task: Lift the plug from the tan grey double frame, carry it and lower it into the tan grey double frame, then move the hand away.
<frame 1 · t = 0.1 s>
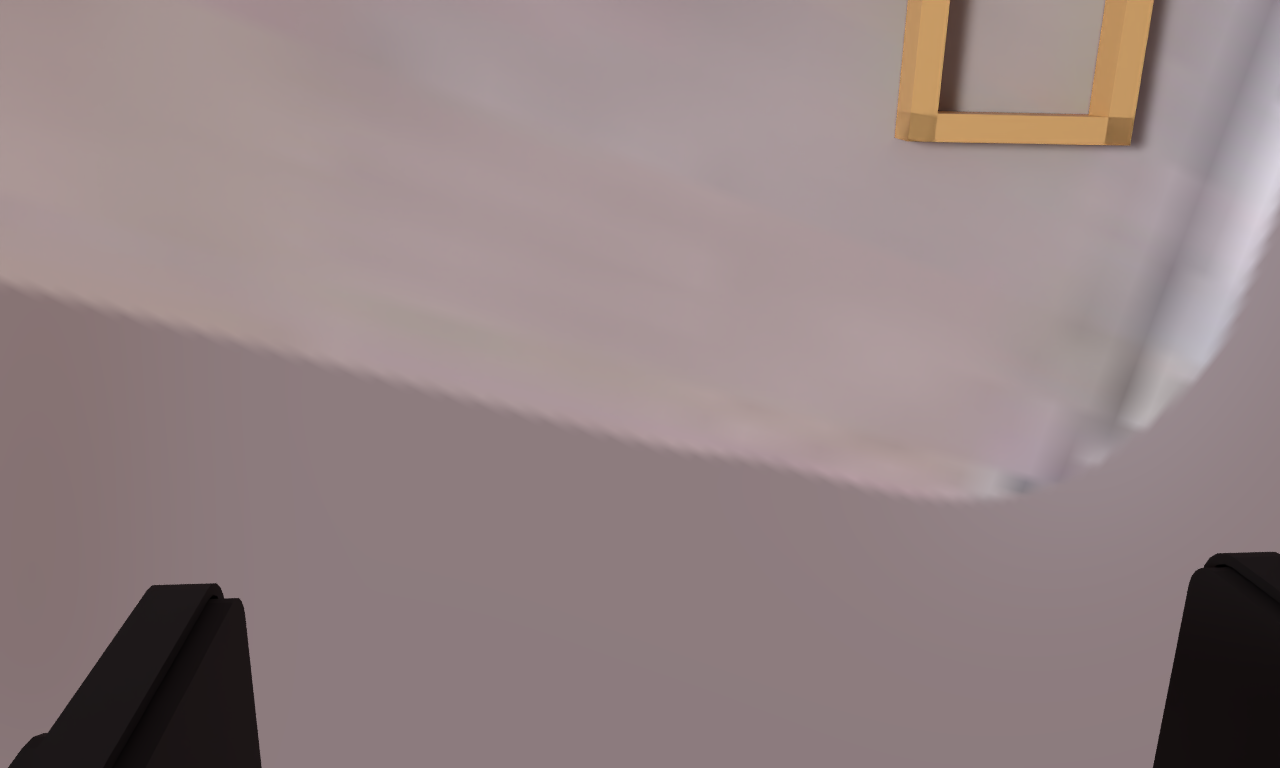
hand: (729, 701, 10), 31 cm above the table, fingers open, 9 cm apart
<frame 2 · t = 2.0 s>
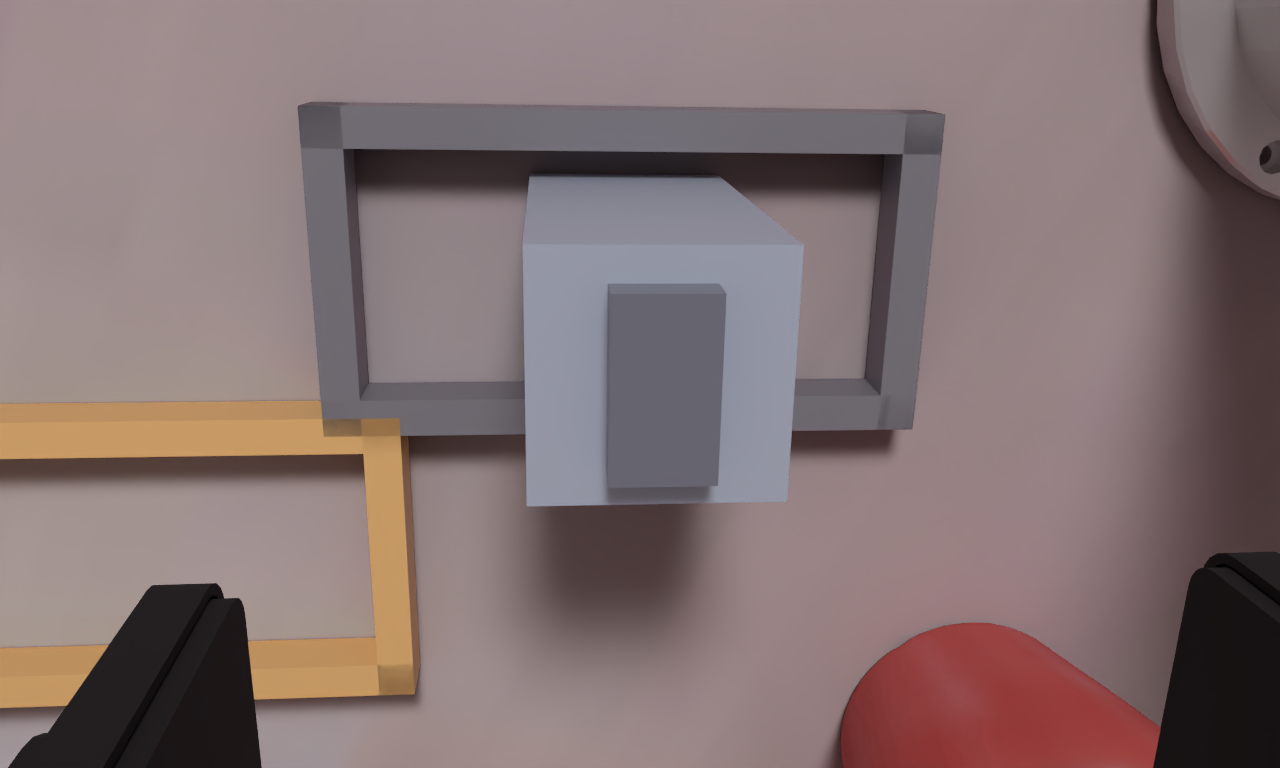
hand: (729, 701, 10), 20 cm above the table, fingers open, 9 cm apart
flower pot 2: (952, 717, 35), on the table
plug: (623, 267, 29), resting in tan grey double frame
tan grey double frame: (370, 408, 30), on the table
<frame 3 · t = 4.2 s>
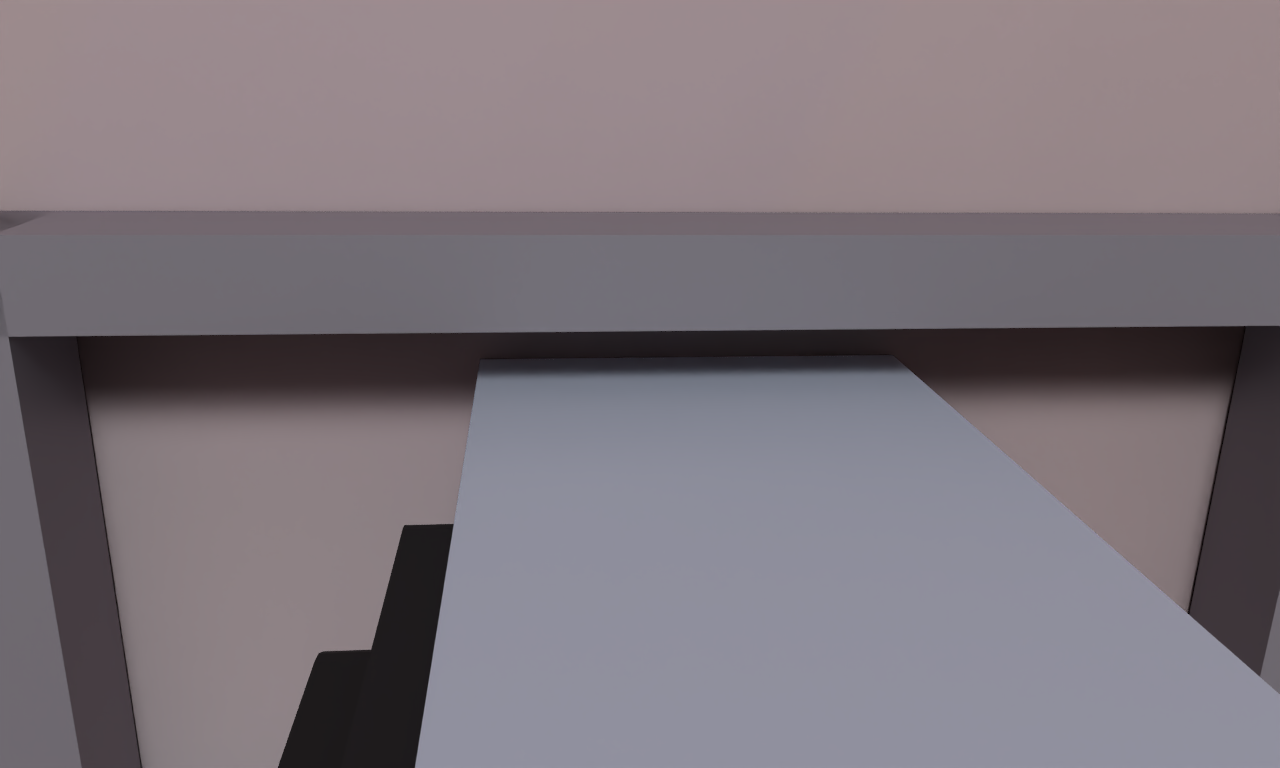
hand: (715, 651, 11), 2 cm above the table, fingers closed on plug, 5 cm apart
plug: (683, 545, 14), resting in tan grey double frame, touching gripper
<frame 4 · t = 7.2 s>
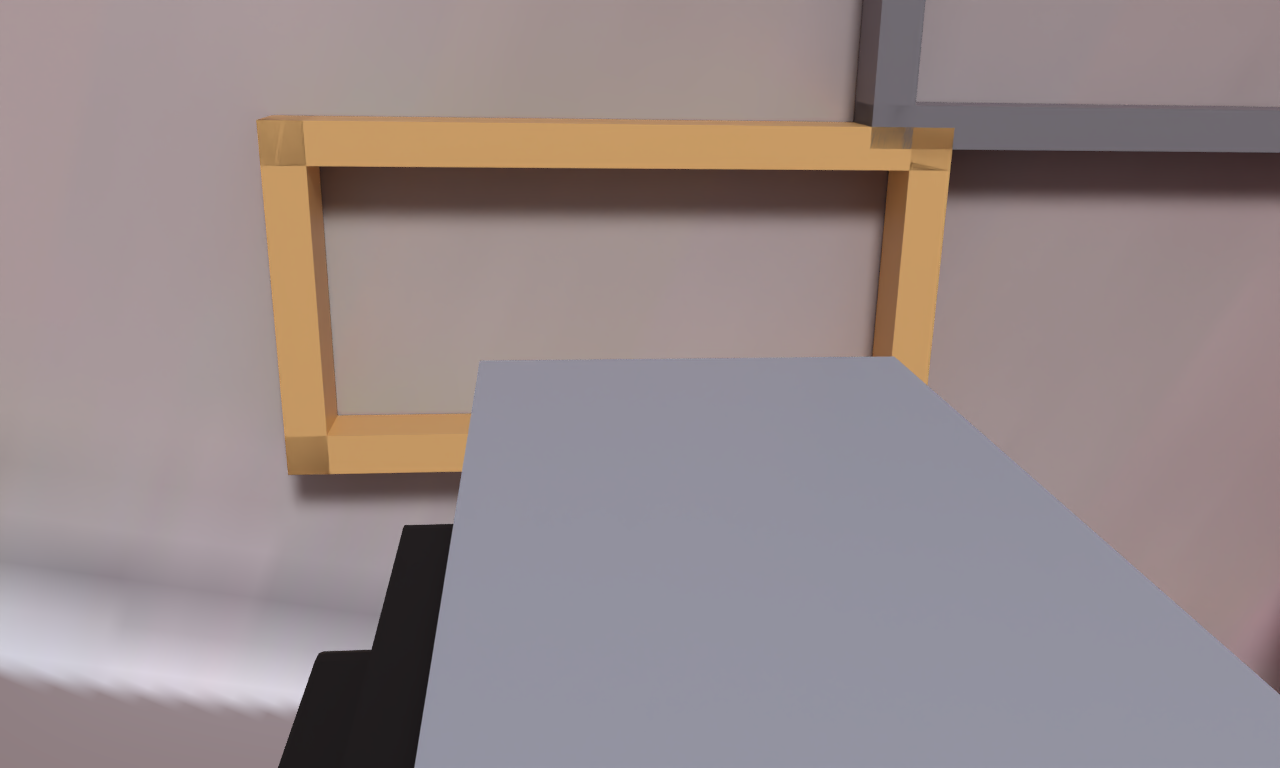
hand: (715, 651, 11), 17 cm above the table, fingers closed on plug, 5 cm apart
plug: (684, 547, 14), point 14 cm above the table, touching gripper
tan grey double frame: (892, 132, 27), on the table
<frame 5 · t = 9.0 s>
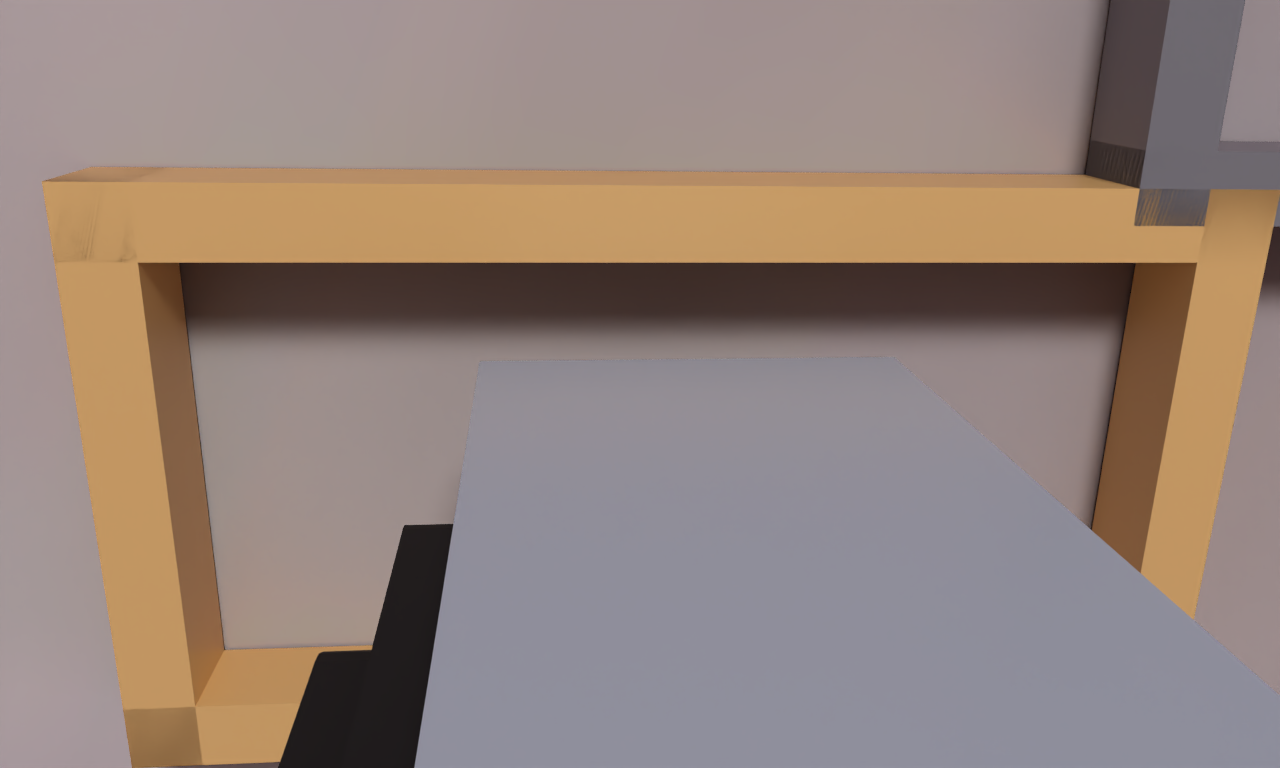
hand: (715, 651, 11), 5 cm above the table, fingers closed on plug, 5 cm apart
plug: (684, 548, 14), point 3 cm above the table, touching gripper
tan grey double frame: (1147, 192, 16), on the table
when the fingers open (3 cm above the table, at t = 10.3 s): plug stays where it is, resting in tan grey double frame.
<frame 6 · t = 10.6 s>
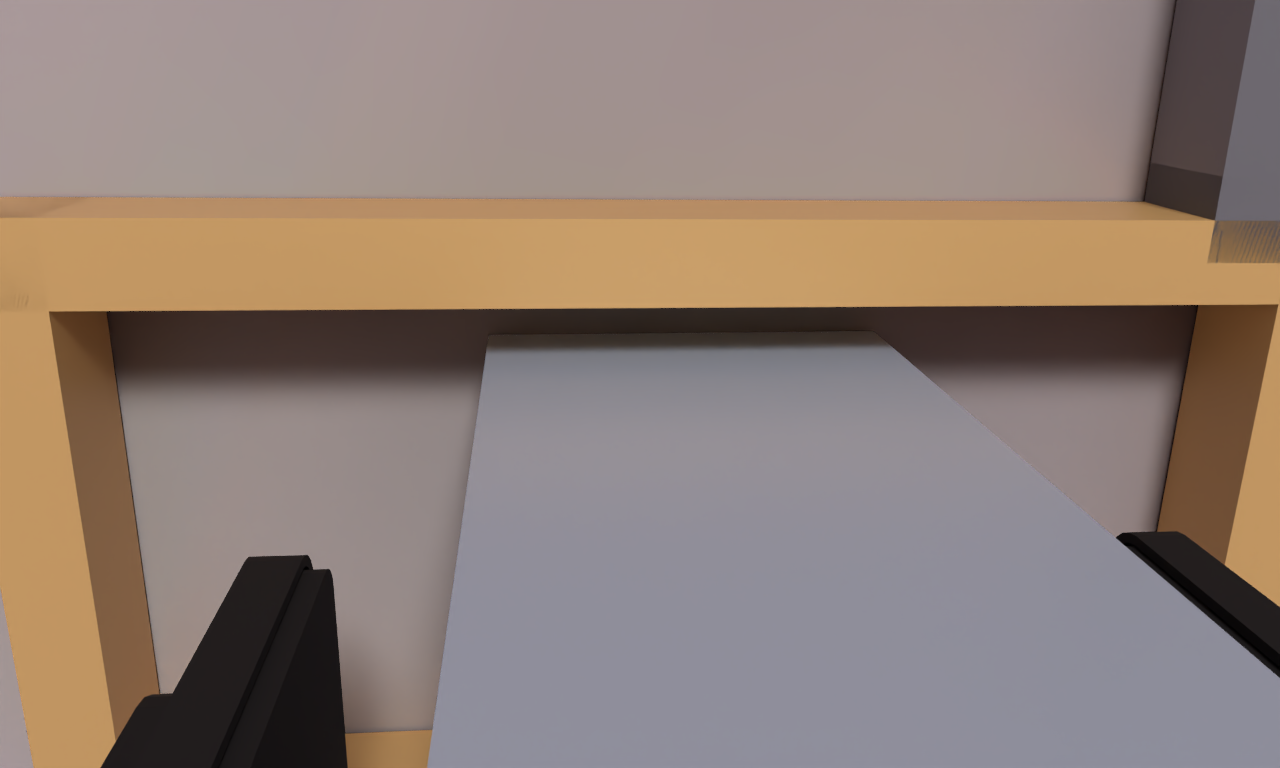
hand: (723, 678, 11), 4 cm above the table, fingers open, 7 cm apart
plug: (679, 510, 15), resting in tan grey double frame
tan grey double frame: (1213, 221, 14), on the table
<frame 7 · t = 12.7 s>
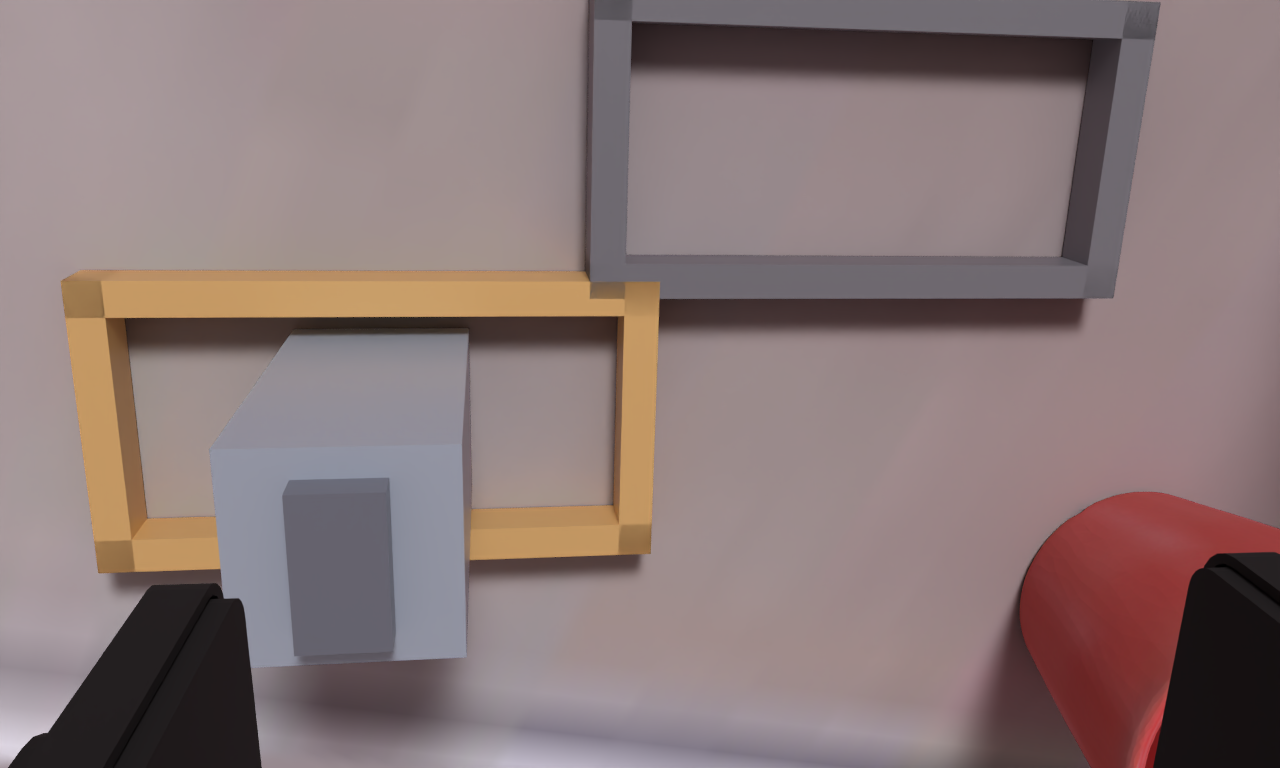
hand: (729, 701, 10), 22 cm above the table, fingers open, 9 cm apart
flower pot 2: (1116, 586, 38), on the table
plug: (385, 409, 32), resting in tan grey double frame
tan grey double frame: (618, 279, 32), on the table
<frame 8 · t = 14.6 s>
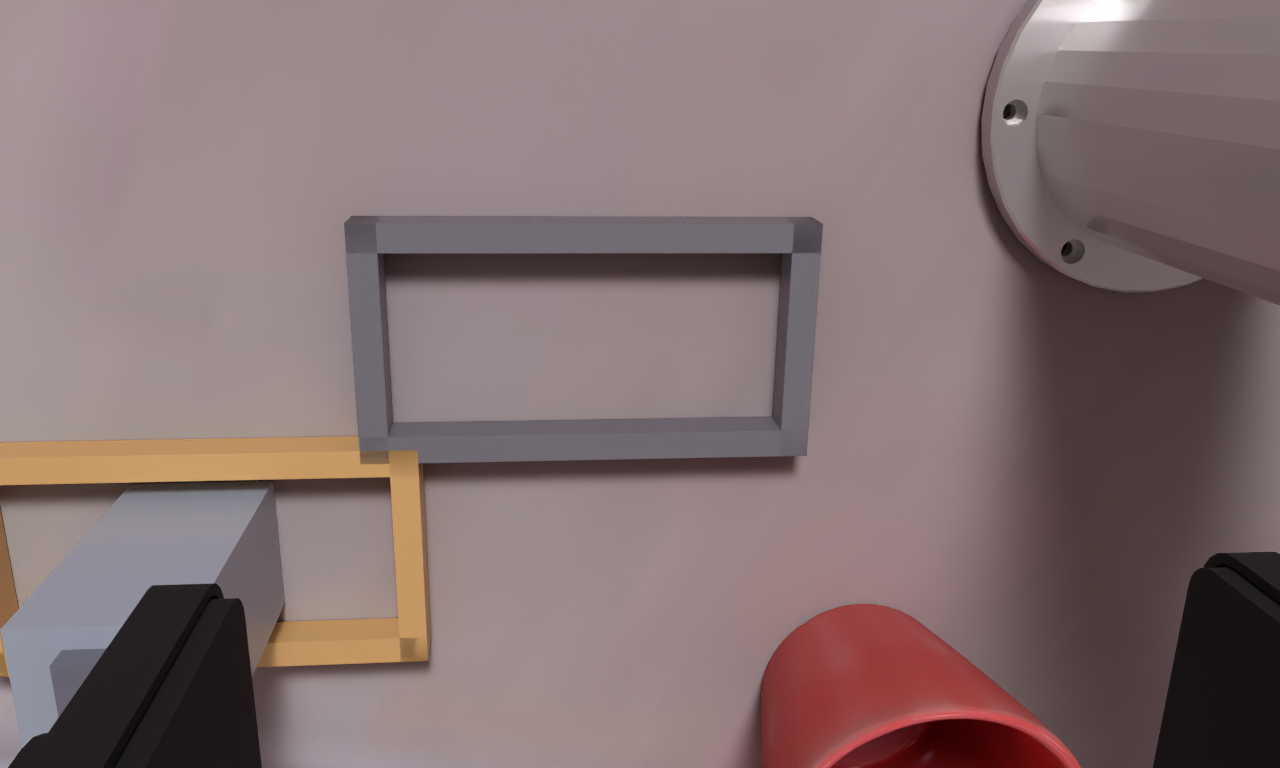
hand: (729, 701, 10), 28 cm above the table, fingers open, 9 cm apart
flower pot 2: (849, 679, 44), on the table
plug: (209, 545, 40), resting in tan grey double frame
tan grey double frame: (394, 442, 39), on the table
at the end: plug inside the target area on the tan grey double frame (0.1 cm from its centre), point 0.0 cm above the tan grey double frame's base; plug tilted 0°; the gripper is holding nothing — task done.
